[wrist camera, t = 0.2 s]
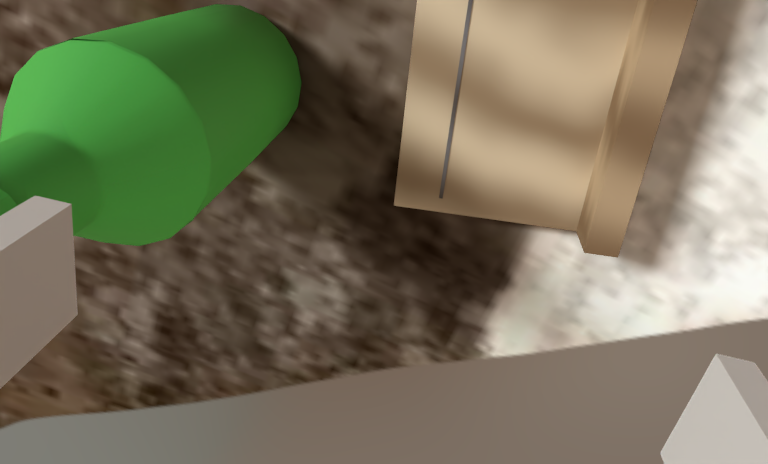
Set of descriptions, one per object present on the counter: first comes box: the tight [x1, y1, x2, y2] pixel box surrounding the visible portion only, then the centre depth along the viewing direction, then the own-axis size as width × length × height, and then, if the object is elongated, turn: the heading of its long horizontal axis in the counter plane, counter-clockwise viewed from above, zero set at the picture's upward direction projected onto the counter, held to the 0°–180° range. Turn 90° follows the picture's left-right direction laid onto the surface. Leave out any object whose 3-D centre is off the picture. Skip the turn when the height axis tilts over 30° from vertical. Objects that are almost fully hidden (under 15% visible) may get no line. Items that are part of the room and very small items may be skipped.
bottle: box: [0, 4, 301, 246], centre depth 27 cm, size 9×9×25 cm
